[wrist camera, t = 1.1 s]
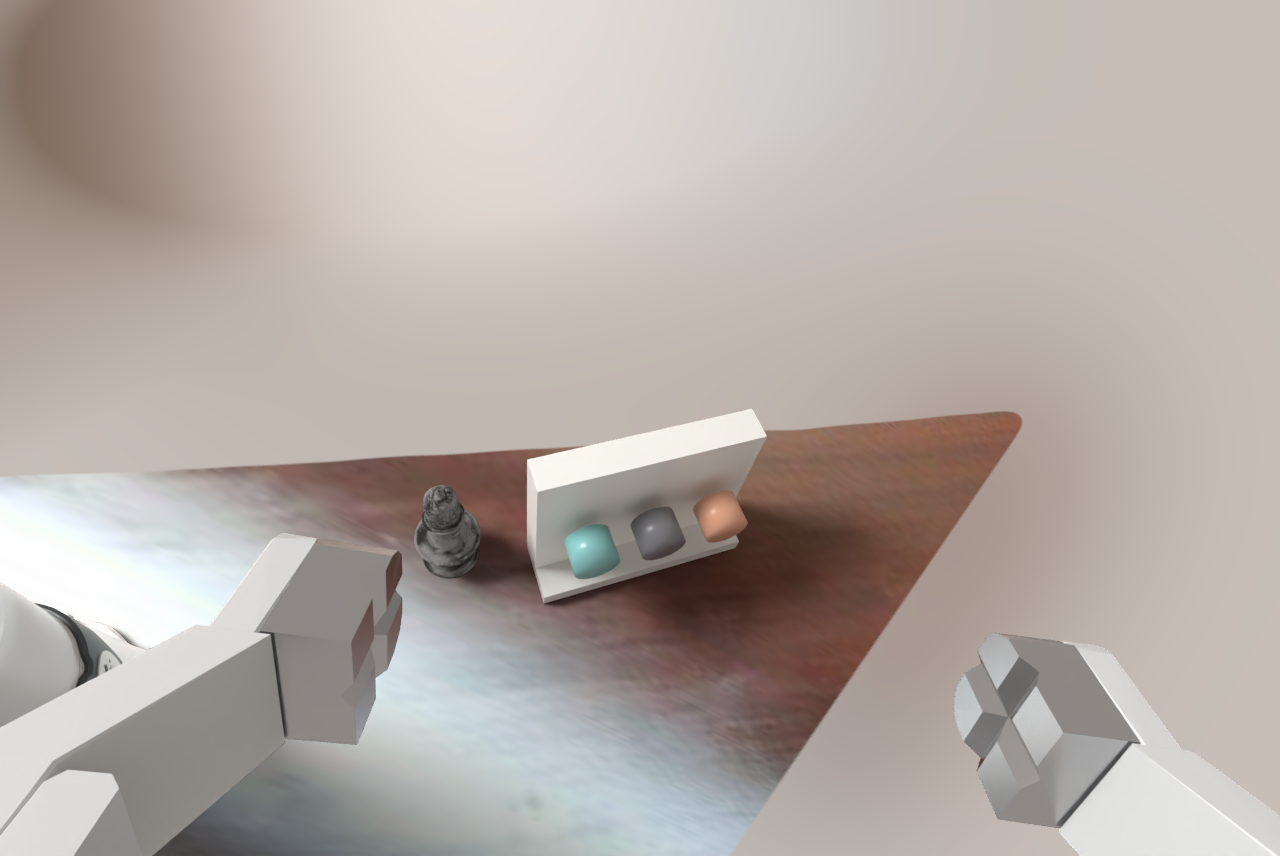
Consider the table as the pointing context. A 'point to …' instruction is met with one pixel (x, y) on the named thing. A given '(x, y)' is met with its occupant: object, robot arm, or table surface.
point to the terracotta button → (719, 516)
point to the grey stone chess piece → (447, 534)
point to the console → (634, 495)
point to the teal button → (591, 551)
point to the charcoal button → (657, 533)
